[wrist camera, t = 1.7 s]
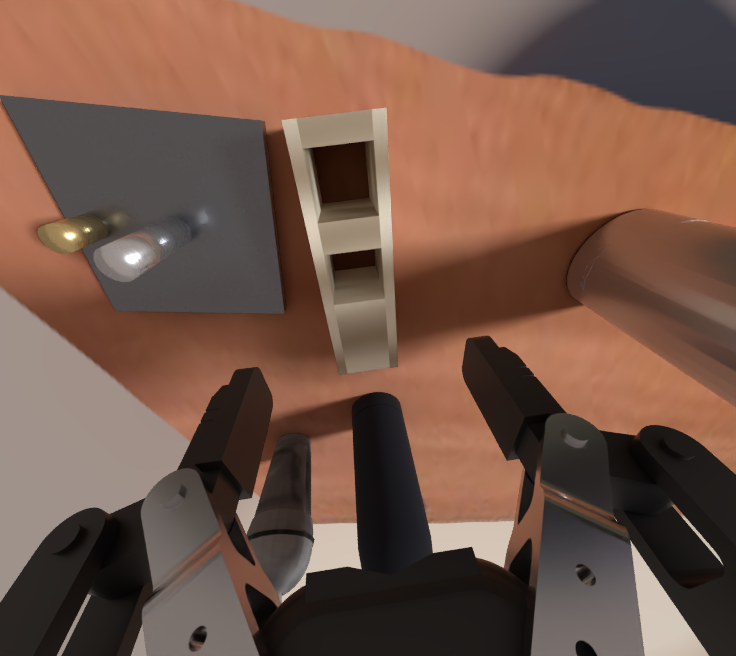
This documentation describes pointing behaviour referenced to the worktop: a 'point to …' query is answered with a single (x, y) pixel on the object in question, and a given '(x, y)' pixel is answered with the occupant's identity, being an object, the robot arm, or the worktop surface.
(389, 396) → the wine bottle
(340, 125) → the bar
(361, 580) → the robot arm
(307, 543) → the grey tapered rounded cylinder
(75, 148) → the mounting plate
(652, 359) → the worktop surface
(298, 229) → the worktop surface
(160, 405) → the worktop surface
